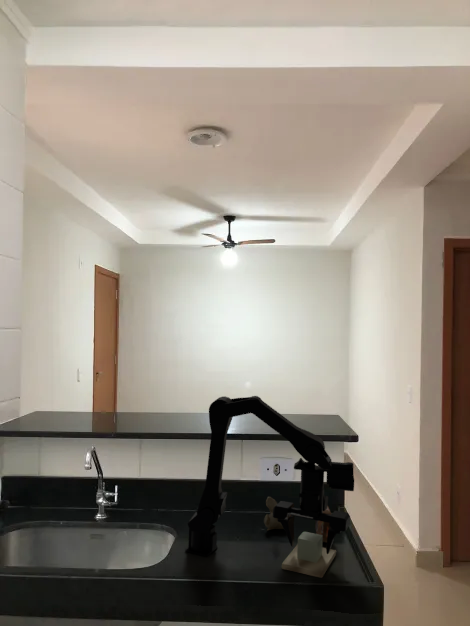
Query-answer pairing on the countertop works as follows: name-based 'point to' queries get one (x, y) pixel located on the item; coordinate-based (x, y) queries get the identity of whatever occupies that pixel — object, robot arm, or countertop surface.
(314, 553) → the sage cube
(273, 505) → the beige lumpy figure
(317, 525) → the tin
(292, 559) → the maple board
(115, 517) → the countertop surface
